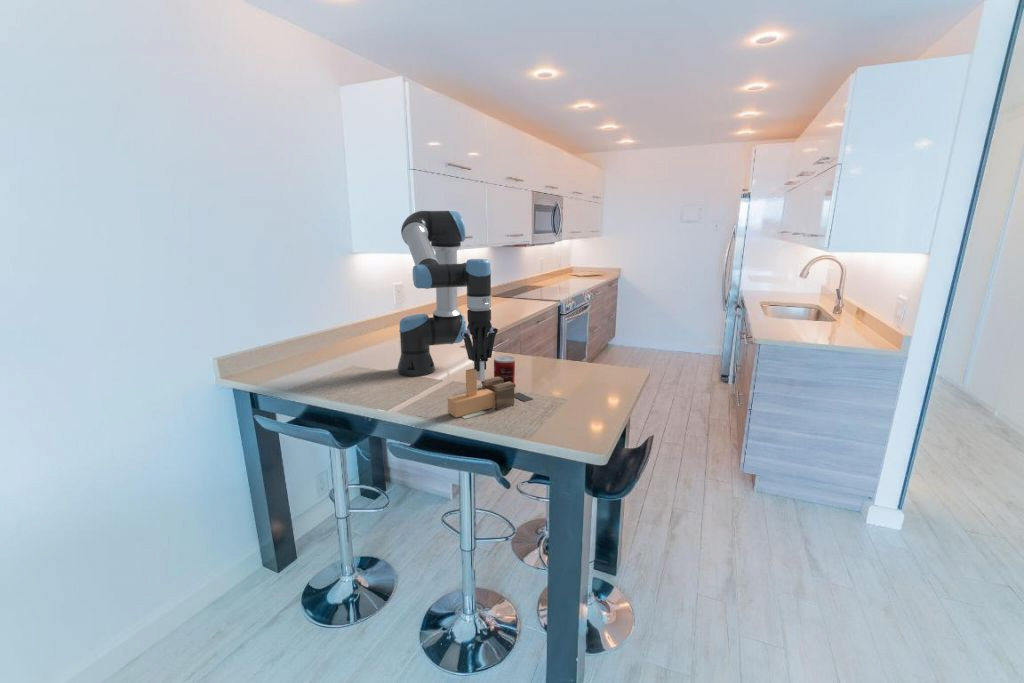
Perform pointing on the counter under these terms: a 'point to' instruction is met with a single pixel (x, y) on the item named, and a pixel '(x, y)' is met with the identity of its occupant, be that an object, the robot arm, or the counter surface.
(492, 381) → the dark brown box
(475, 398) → the tan inverted t block
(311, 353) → the counter surface
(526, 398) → the pit patch
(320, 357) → the counter surface
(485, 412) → the pad
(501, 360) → the canned food
